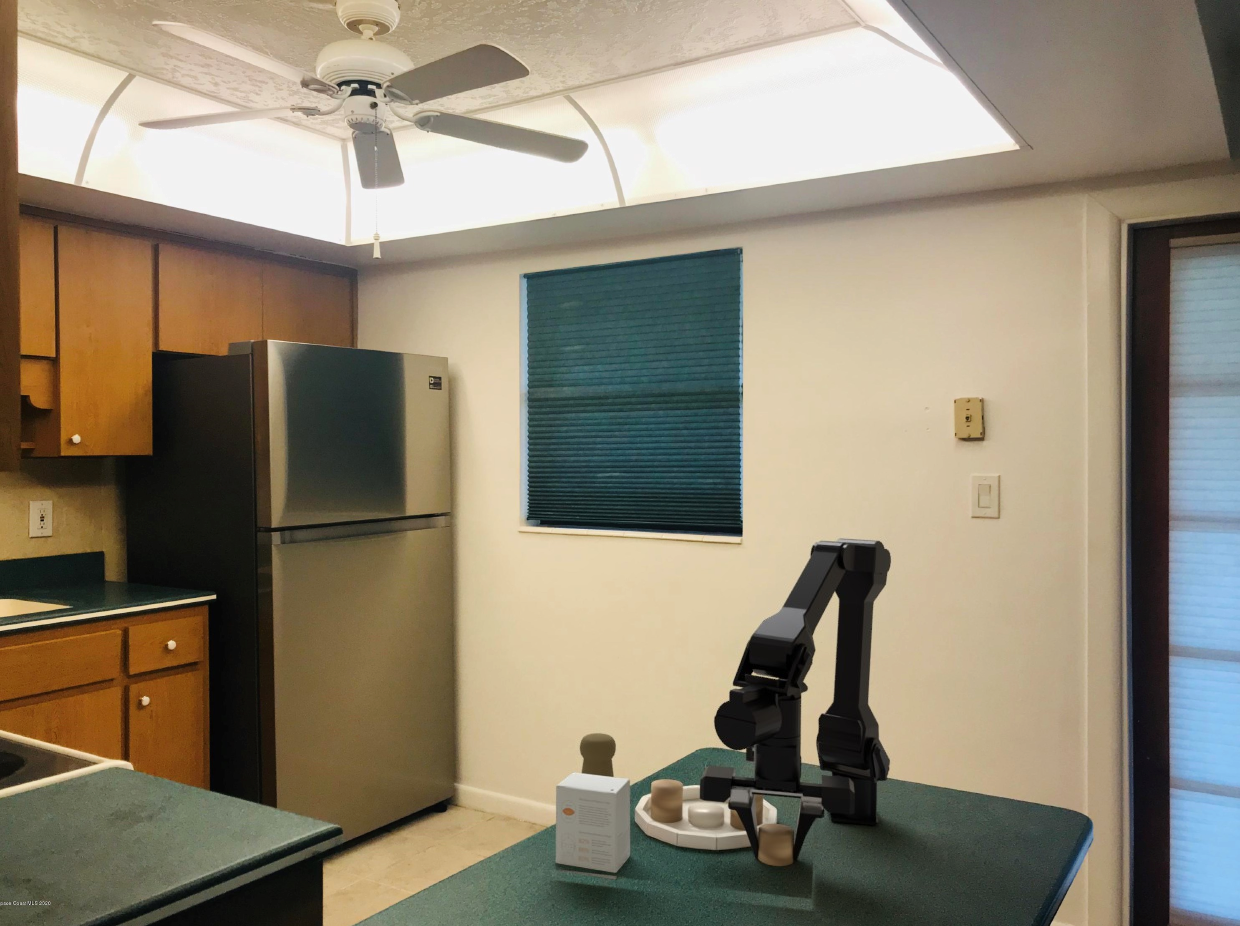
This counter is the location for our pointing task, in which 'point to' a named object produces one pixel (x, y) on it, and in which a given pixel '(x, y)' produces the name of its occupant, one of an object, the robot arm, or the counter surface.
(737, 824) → the tan rounded piece
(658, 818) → the bead
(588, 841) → the small box
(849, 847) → the counter surface
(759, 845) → the bead
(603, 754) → the cork
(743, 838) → the tray
